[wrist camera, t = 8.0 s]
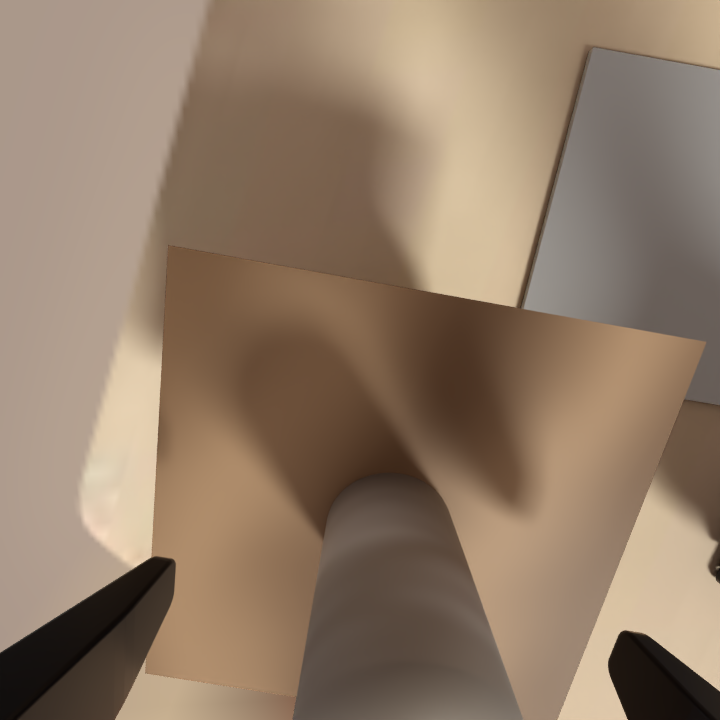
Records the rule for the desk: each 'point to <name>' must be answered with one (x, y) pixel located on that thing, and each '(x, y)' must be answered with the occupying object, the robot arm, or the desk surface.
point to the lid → (394, 489)
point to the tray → (638, 207)
